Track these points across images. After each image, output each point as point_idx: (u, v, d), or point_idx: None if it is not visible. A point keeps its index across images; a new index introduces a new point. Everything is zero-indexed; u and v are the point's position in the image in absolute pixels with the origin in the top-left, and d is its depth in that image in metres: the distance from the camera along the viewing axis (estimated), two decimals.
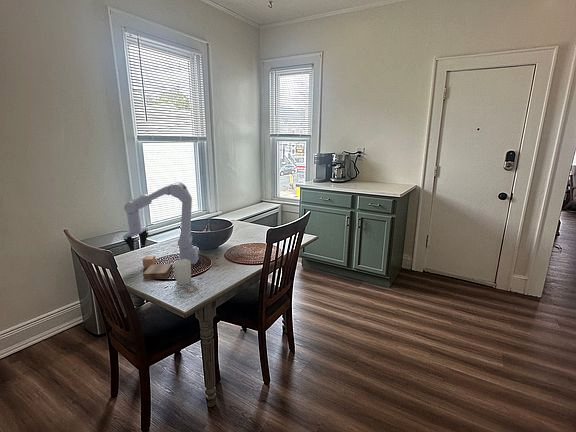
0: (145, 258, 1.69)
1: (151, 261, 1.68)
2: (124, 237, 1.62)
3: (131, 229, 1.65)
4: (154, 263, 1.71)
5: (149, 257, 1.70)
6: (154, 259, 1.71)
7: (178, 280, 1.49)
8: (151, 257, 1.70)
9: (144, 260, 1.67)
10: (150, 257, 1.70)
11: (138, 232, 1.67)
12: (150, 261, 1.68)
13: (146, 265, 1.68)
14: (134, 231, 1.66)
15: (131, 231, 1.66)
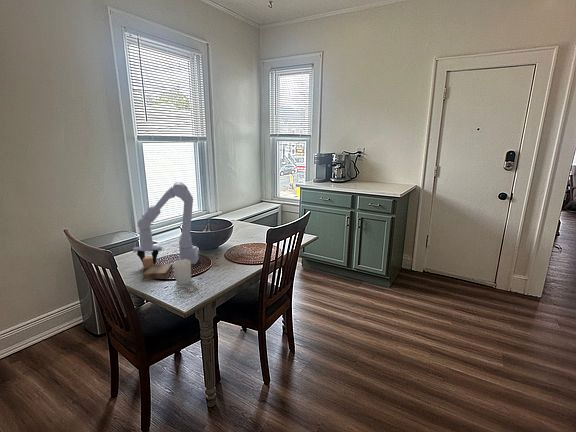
0: (145, 258, 1.69)
1: (151, 261, 1.68)
2: None
3: None
4: None
5: (149, 257, 1.70)
6: None
7: (178, 280, 1.49)
8: (151, 257, 1.70)
9: (144, 260, 1.67)
10: (150, 257, 1.70)
11: (144, 249, 1.66)
12: (150, 261, 1.68)
13: (146, 265, 1.68)
14: (141, 247, 1.66)
15: None
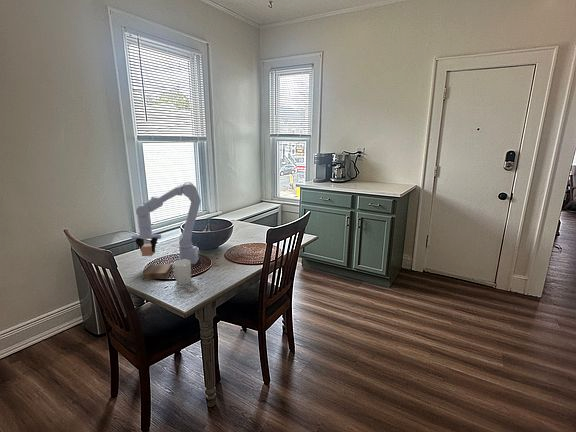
0: (144, 246, 1.67)
1: (150, 249, 1.66)
2: None
3: None
4: None
5: (148, 245, 1.68)
6: None
7: (178, 280, 1.49)
8: (150, 245, 1.68)
9: (143, 248, 1.65)
10: (149, 245, 1.68)
11: (142, 237, 1.63)
12: (149, 249, 1.66)
13: (145, 253, 1.66)
14: (140, 234, 1.64)
15: None
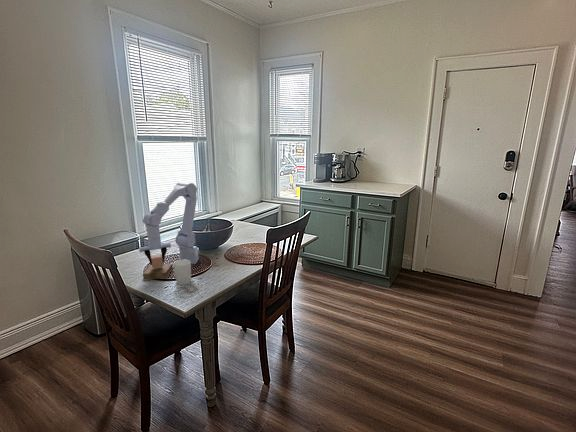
0: (153, 257, 1.57)
1: (162, 260, 1.58)
2: (139, 250, 1.54)
3: (148, 243, 1.55)
4: None
5: (156, 256, 1.59)
6: None
7: (178, 280, 1.49)
8: (159, 255, 1.59)
9: (153, 259, 1.56)
10: (158, 256, 1.59)
11: (154, 247, 1.54)
12: (160, 259, 1.58)
13: (156, 265, 1.57)
14: (150, 245, 1.54)
15: (148, 245, 1.55)
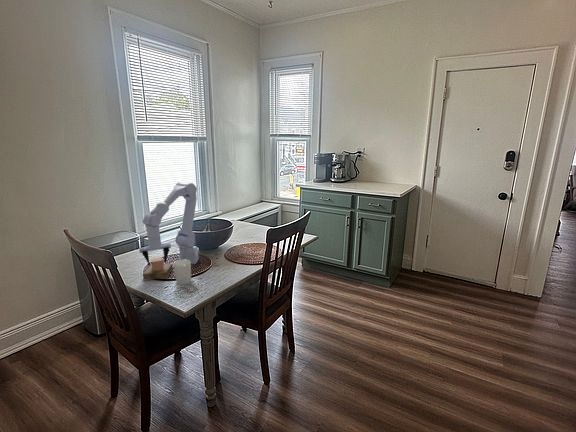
0: (154, 260, 1.58)
1: (162, 263, 1.58)
2: (139, 250, 1.54)
3: (148, 243, 1.55)
4: None
5: (157, 259, 1.59)
6: None
7: (178, 280, 1.49)
8: (159, 258, 1.60)
9: (154, 262, 1.56)
10: (158, 259, 1.60)
11: (154, 248, 1.54)
12: (160, 262, 1.58)
13: (156, 268, 1.58)
14: (150, 246, 1.54)
15: None
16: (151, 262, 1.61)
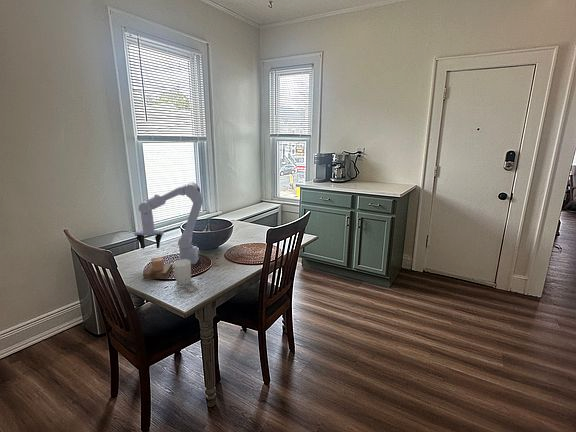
0: (154, 260, 1.58)
1: (162, 263, 1.58)
2: None
3: None
4: None
5: (157, 259, 1.59)
6: None
7: (178, 280, 1.49)
8: (159, 258, 1.60)
9: (154, 262, 1.56)
10: (158, 259, 1.60)
11: (145, 233, 1.66)
12: (160, 262, 1.58)
13: (156, 268, 1.58)
14: (143, 231, 1.67)
15: None
16: (151, 262, 1.61)
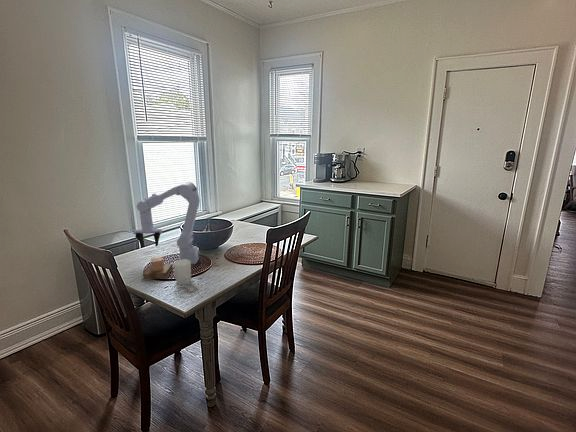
0: (154, 260, 1.58)
1: (162, 263, 1.58)
2: None
3: None
4: None
5: (157, 259, 1.59)
6: None
7: (178, 280, 1.49)
8: (159, 258, 1.60)
9: (154, 262, 1.56)
10: (158, 259, 1.60)
11: (144, 231, 1.69)
12: (160, 262, 1.58)
13: (156, 268, 1.58)
14: (142, 229, 1.70)
15: None
16: (151, 262, 1.61)
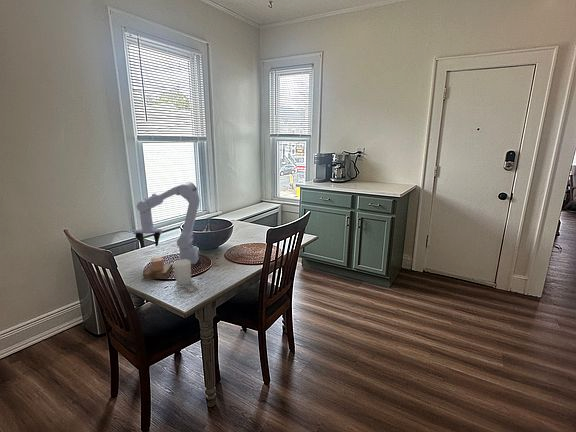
0: (154, 260, 1.58)
1: (162, 263, 1.58)
2: None
3: None
4: None
5: (157, 259, 1.59)
6: None
7: (178, 280, 1.49)
8: (159, 258, 1.60)
9: (154, 262, 1.56)
10: (158, 259, 1.60)
11: (144, 231, 1.69)
12: (160, 262, 1.58)
13: (156, 268, 1.58)
14: (142, 229, 1.70)
15: None
16: (151, 262, 1.61)
